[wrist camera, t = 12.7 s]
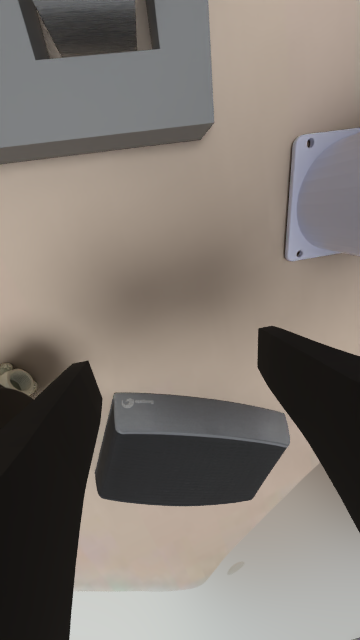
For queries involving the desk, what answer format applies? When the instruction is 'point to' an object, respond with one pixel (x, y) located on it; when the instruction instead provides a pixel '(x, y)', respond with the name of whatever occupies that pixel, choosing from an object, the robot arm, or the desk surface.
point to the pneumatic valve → (14, 392)
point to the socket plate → (104, 87)
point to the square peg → (90, 25)
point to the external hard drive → (187, 450)
